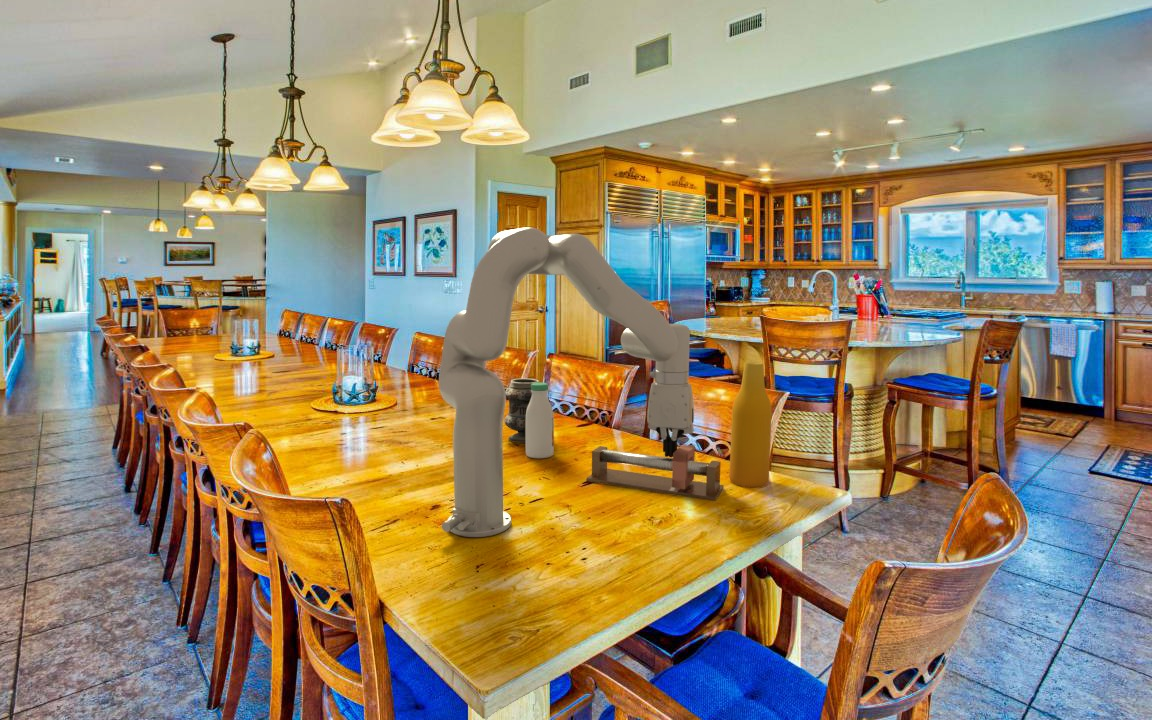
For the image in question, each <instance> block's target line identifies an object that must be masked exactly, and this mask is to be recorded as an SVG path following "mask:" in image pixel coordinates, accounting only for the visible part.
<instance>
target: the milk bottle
mask: <svg viewBox="0 0 1152 720" xmlns="http://www.w3.org/2000/svg"><path fill="white" fill-rule="evenodd" d="M531 392H532V397H531V400H530V402H529V405H528V407H527V410H526V443H525V454H526V456H527V457H528V458H531V459H532V458H533V459H546V458H550V457H552V456H553V455H554V450H555V449H554V448H555V443H554V439H555V437H554V435H555V431H554V430H555V429H554V428H555V426H554V425H555V424H554V422H555V421H554V410H553V407H552V404H551V403H550V400H549V397H548V393H549V383H546V382H539V383H532V384H531Z"/></svg>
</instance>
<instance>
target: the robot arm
mask: <svg viewBox="0 0 1152 720" xmlns="http://www.w3.org/2000/svg"><path fill="white" fill-rule="evenodd" d="M527 275H538V276H539V275H540V276H541V275H542V276H543V275H544V276H546V275H547V276H548V275H550V276H565V278H567V280H569V283H571V285H573V287H574V288H575V289H576V290H577V291H578V293H579V294H580V295H581V296H582V297H583V299H584V300H585V301H586V302H587V303H588V304H589V307H591V308H592V309H593V310H595V311H596V312H597V313H599V314H600V315H602V316H603V317H606V318H607V319H609V320H612V321H615V322H616V323H618V324H620V325H622V326H624V327H625V329H624V330H623V332H622V333H621V336H620V344H621V348H622V349H623V351H624V352H626V354H628V355H629V356H632V357H635V358H638V359H639V358H640V359H645V360H649V361H653V362H654V361H655V369H654V371H650V372H649V377H650V378H653V379H654V382H652V383H651V386H650V390H649V395H648V403H647V415H646V418H647V424H648V425H647V429H649V430H652V431H655V432H657V434H658V435H659V436H660V437H661V440H662V452H663V453H664V457H666V458H673V453H674V452H675V451H676V450H677V449H678V441H679V440H678V439H679V438H680V437H681V436H683V435H688V434H689V435H690V434H693V433H694V432H695V427H694V422H695V421H694V419H695V406H694V396H693V388H692V384H690V383H689V379H690V378H689V376H690V375H689V373H690V366H689V365H690V339H691V337H690V336H691V335H690V334H691V333H690V328H689V326H687V325H685V324H680V323H669V322H668V320H667V318H665V316H664V314H662V313H661V312H660V311H659V310H658V308H656V307H655V306H654V305H653V304H652V303H651V302H650V301H648V300H647V299H646V298H644V297H643V296H642V295H640V294H639V293H638V292H637V291H636V290H634V289H633V288H631V287H629V285H627V284H626V283H625V282H624V281H623V280H622V279H621V278H620V275H618V274H617V272H616V271H615V270H614V269H613V268H612V266H611V265H610V263H608V261H607V260H606V258H605V257H604V256H603V255H602V253H601V252H600V251H599V249H597V247H596V245H594V243H593V242H592V241H591V240H590V239H589V238H588V237H586V236H585V235H583V234H580V233H566V234H565V233H564V234H556V235H554V234H553V235H551V234H550V235H549V234H546V233H544V232H543V231H542V230H540V229H538V228H535V227H520V228H514V229H509V230H503V231H500V232H498V233H497V234H495V235H494V236H493V237H492V238H491V240H490V241H489V243H488V248H487V251H486V252H485V253H484V255H483V256H482V257H481V258H480V260H479V262H478V263H477V265H476V268H475V270H474V272H473V276H472V279H471V282H470V288H469V292H468V293H469V294H468V297H467V303H466V309H465V310H461V311H459V312H458V313H456V314H455V315H453V317H452V318H451V320H449V323H448V325H447V327H446V329H445V333H444V339H443V344H442V345H443V346H442V351H441V359H440V367H439V372H438V373H439V374H438V388H439V389H438V390H439V393H440V395H441V398H442V399H443V401H444V402H446V404H448V405H449V406H451V407H452V408H454V409H455V417H454V423H453V432H452V436H453V437H452V451H453V452H452V453H453V487H454V491H453V492H454V508H452V515H451V516H449V517H448V518H447V520H445V521H443V522H442V524H441V529H442V531H443V532H446V533H448V532H451V533H452V534H454V535H456V536H460V537H466V538H483V537H491V536H494V535H495V536H496V535H498V534H501V533H503V532H506V530H508V529H509V528H510V527H511V526H512V517H511V515H510V514H509V513H508V512H507V511H504V458H503V457H504V456H503V455H504V453H503V451H504V450H503V449H504V448H503V426H504V425H503V424H504V418H505V417H504V416H505V410H506V404H507V403H506V400H507V397H506V393H505V391H506V388H505V386H504V382H503V381H502V380H501V379H500V377H499V376H498V375H497V374H496V373H495V372H494V371H492V370H490V369H487V368H486V363H487V362H491V361H495V360H496V359H498V358H500V357H501V356H502V355H503V354H504V352H505V350H506V348H507V344H508V338H509V332H510V324H511V319H512V318H511V316H512V311H513V304H514V300H515V299H514V298H515V294H516V291H517V289H518V287H519V284H520V283H521V281H522V280H523V278H525V277H526V276H527ZM670 429H672V433H671V435H670Z"/></svg>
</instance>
